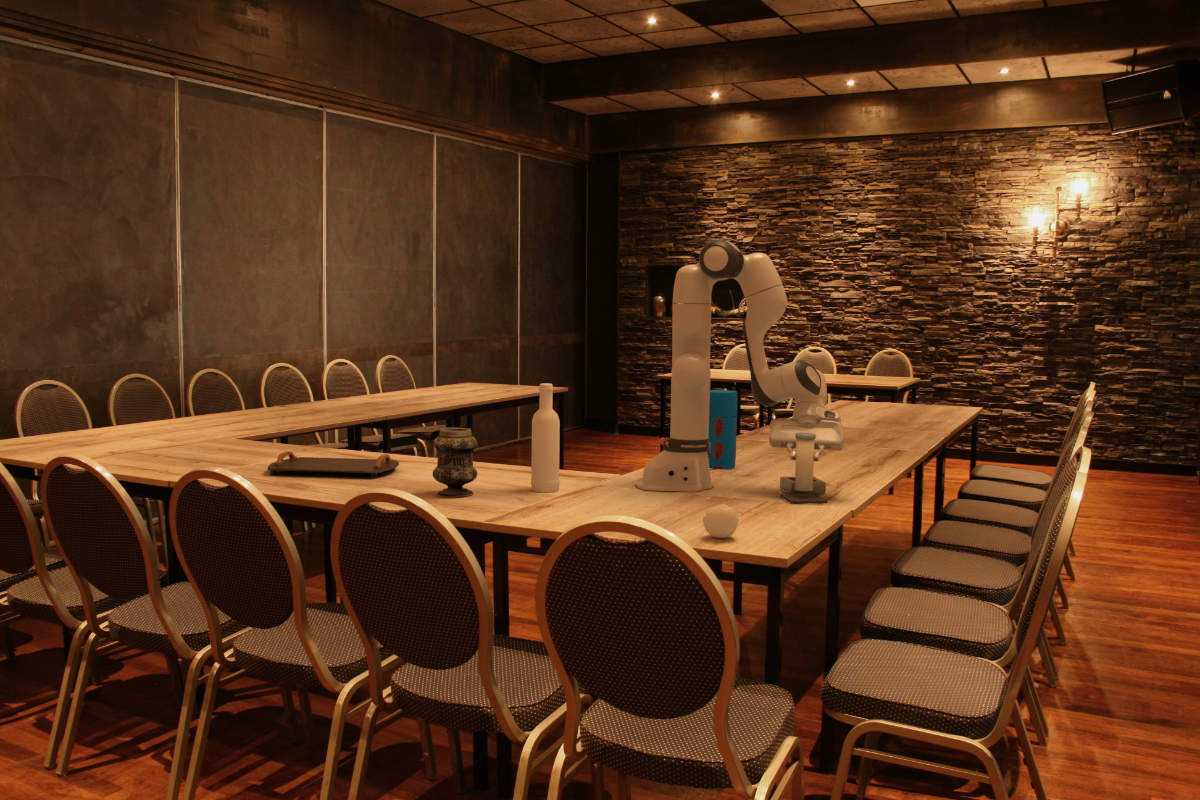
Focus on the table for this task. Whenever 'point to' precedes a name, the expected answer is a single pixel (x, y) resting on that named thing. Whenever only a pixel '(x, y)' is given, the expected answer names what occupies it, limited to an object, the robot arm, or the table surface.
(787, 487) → the collar
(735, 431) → the red-spotted teal box
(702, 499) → the table surface
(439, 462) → the apothecary jar
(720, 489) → the table surface
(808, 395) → the robot arm
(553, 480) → the bottle
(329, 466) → the serving board
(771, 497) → the table surface
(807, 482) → the cylinder
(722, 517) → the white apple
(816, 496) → the mat
